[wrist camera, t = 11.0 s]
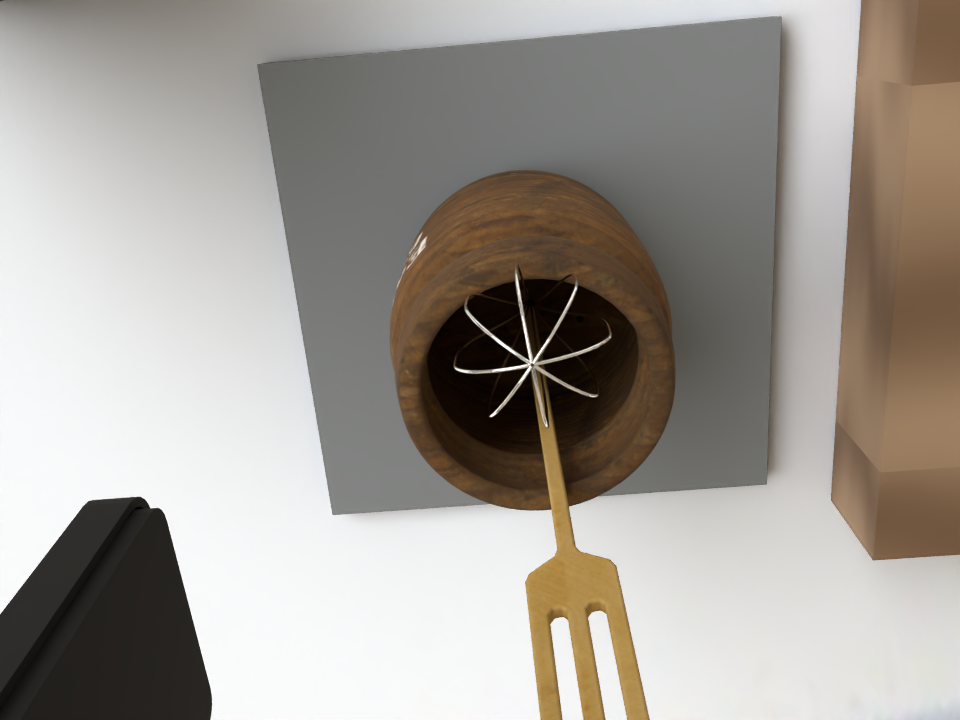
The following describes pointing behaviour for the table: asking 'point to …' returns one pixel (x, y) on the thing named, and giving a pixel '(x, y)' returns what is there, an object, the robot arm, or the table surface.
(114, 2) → the table surface
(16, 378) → the table surface
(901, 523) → the wooden square frame
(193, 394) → the table surface
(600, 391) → the utensil holder
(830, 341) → the table surface
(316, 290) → the slate coaster
